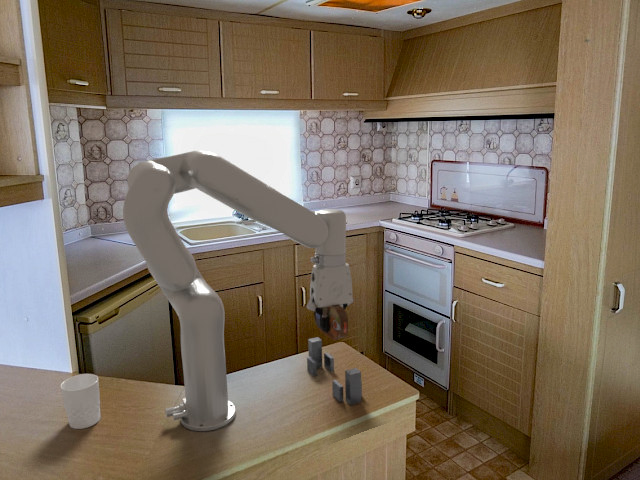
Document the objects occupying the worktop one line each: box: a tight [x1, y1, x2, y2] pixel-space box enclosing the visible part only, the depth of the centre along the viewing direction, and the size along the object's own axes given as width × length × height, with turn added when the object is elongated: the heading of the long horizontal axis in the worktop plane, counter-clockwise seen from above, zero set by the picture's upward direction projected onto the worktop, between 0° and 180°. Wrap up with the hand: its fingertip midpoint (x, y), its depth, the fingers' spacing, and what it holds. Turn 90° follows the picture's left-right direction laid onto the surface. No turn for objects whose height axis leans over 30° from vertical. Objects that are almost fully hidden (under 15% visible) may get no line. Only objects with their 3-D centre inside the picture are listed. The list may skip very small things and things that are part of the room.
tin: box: [313, 304, 349, 341], centre depth 130 cm, size 15×3×8 cm, turn 26°
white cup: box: [59, 373, 102, 430], centre depth 119 cm, size 8×8×10 cm
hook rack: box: [306, 336, 363, 406], centre depth 134 cm, size 6×23×8 cm, turn 26°
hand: (330, 328), depth 131 cm, fingers closed on tin, 2 cm apart
